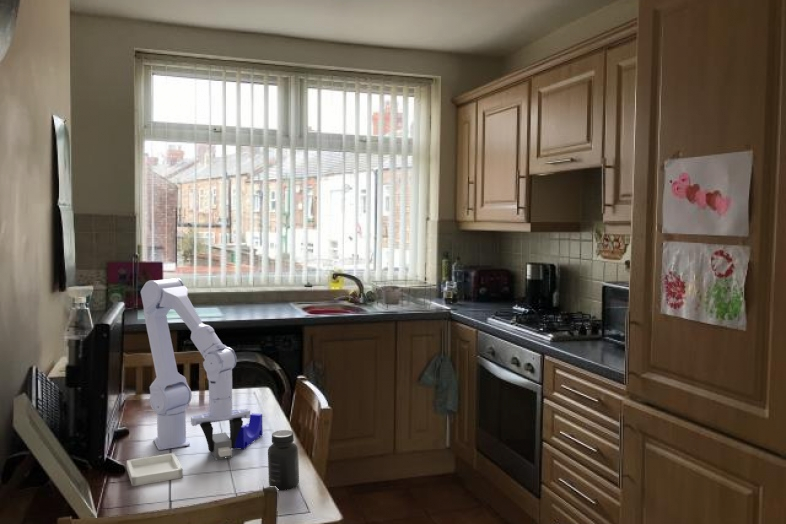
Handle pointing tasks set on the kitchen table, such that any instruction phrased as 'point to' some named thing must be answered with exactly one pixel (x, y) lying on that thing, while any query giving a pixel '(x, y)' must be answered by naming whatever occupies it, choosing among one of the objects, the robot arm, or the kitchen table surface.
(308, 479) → the kitchen table surface
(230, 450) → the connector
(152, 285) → the robot arm
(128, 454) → the kitchen table surface
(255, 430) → the blue u-shaped cradle block
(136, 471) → the tray
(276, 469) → the supplement bottle
